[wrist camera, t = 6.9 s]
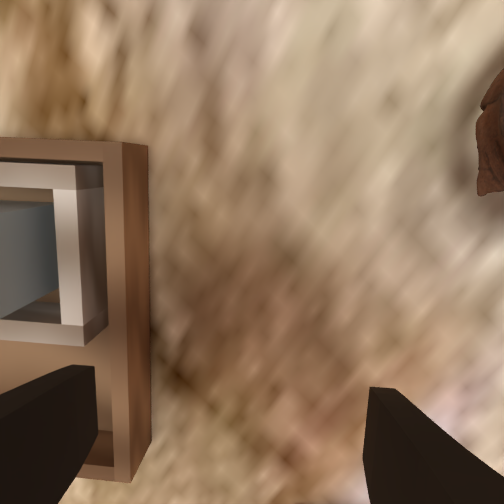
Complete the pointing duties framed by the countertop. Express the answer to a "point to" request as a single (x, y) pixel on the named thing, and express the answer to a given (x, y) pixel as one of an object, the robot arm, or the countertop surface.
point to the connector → (26, 253)
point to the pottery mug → (491, 139)
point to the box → (88, 287)
